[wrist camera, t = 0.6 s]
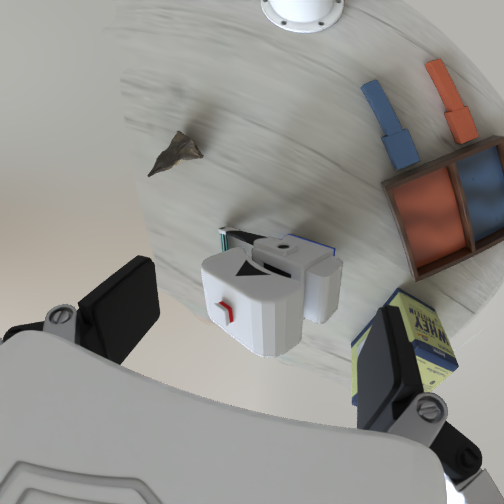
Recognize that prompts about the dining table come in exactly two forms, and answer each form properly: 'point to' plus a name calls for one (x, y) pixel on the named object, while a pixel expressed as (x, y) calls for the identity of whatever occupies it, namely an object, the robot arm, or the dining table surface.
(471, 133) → the orange stepped bar
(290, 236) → the robotic device
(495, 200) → the cutlery tray
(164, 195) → the dining table surface
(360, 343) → the protein box
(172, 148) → the shark head
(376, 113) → the blue tall stepped post
